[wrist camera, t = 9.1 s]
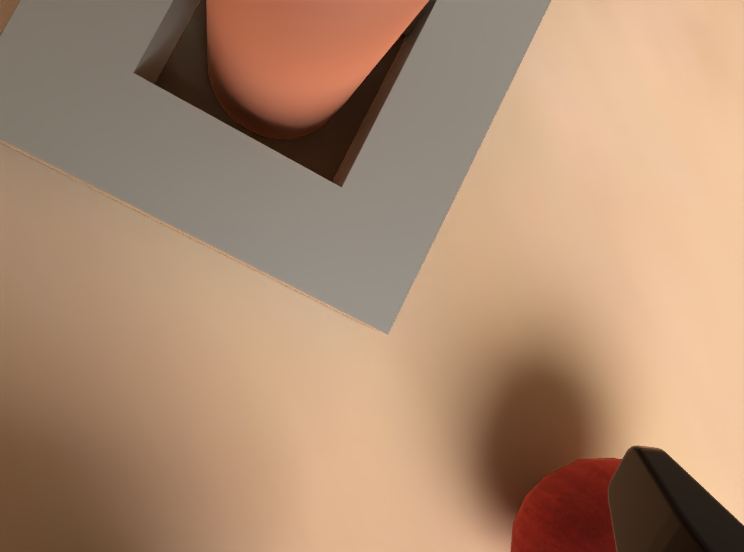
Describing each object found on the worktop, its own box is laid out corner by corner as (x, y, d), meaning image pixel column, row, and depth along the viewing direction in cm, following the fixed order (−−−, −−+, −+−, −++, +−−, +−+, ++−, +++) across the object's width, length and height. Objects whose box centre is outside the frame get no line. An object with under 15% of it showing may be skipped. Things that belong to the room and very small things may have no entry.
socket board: (363, 324, 21) (387, 334, 18) (-6, 139, 18) (-47, 115, 16) (520, 7, 22) (566, -32, 19) (193, -210, 20) (190, -293, 17)
